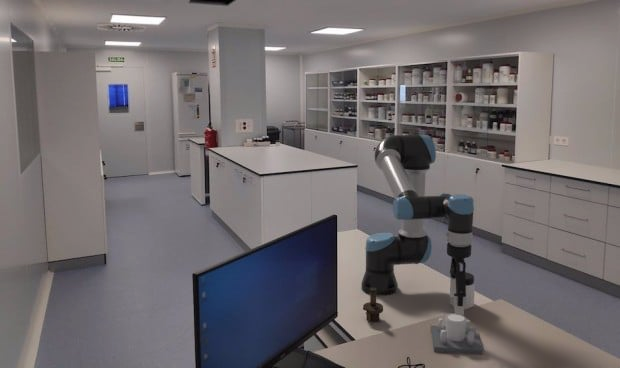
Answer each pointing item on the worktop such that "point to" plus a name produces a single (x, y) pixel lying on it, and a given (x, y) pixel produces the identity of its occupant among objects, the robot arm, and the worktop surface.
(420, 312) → the worktop surface
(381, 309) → the industrial component
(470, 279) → the jar
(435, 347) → the pin plate
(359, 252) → the worktop surface
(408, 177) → the robot arm
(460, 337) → the shot glass
